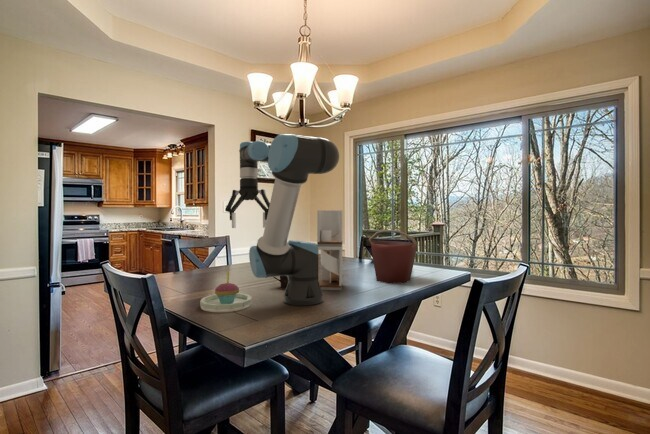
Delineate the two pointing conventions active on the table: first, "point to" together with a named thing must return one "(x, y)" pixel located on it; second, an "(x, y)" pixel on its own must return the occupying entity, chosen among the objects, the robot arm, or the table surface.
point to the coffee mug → (283, 281)
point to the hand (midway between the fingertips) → (249, 227)
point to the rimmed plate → (216, 301)
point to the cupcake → (226, 292)
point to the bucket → (393, 259)
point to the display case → (330, 248)
